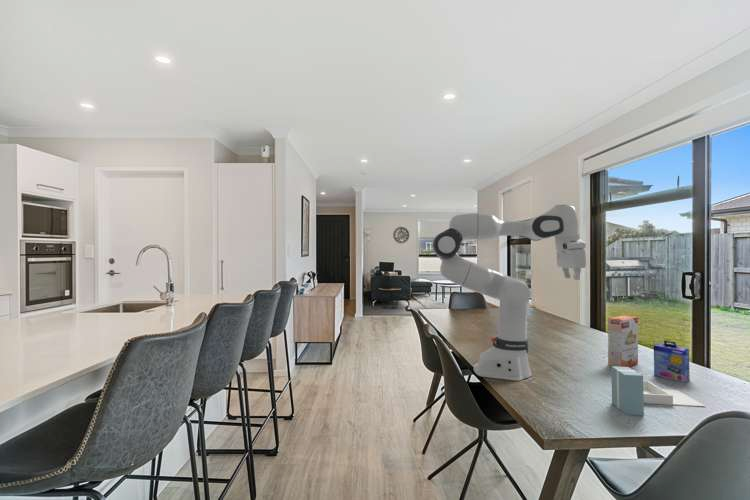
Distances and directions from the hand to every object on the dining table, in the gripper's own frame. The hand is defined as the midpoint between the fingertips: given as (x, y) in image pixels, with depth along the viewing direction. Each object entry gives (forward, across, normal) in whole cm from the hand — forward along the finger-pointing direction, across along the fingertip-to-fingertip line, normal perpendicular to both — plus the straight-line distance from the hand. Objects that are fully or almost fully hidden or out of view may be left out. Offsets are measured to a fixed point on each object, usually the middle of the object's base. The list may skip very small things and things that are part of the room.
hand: (572, 279), depth 137 cm
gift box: (+39, +29, +1) cm, 49 cm away
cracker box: (+41, -18, +23) cm, 51 cm away
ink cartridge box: (+42, -4, +33) cm, 54 cm away
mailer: (+41, +17, +17) cm, 47 cm away
